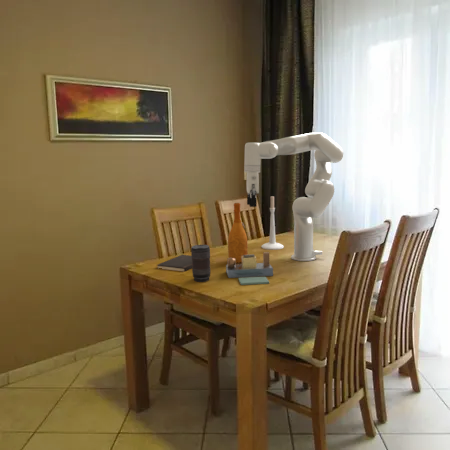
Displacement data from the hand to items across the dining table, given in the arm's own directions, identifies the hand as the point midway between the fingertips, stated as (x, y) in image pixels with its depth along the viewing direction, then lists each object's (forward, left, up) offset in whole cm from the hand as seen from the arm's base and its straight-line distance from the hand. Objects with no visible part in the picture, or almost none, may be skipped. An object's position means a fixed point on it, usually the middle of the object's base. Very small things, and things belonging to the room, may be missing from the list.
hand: (251, 205), depth 210 cm
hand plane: (+4, +13, -30) cm, 32 cm away
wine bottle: (+6, -11, -30) cm, 32 cm away
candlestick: (-18, -41, -30) cm, 54 cm away
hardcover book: (+33, -10, -31) cm, 46 cm away
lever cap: (+4, +13, -26) cm, 29 cm away
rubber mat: (+4, +25, -30) cm, 39 cm away
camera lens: (+26, +19, -30) cm, 44 cm away
